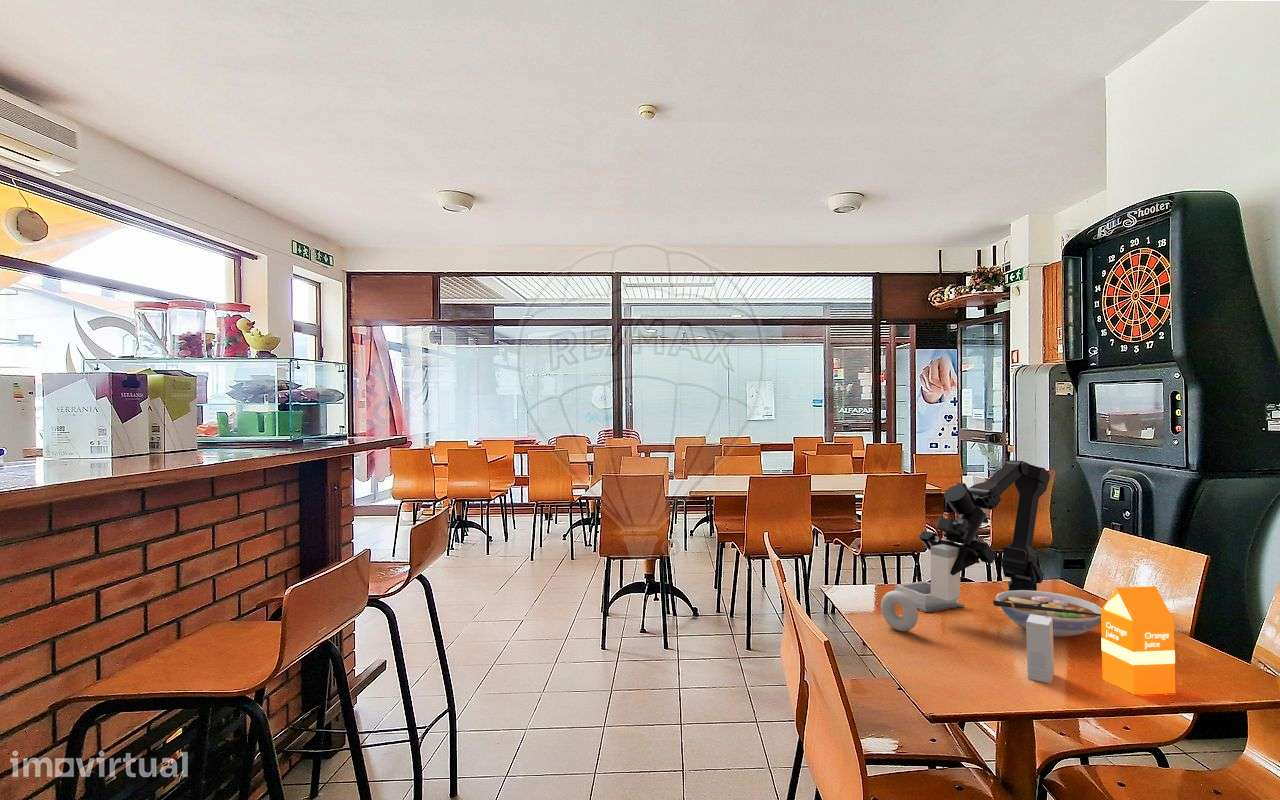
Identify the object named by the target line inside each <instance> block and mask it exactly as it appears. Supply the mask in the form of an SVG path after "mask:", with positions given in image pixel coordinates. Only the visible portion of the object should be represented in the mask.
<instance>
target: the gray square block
mask: <svg viewBox="0 0 1280 800" xmlns="http://www.w3.org/2000/svg"><path fill="white" fill-rule="evenodd" d="M958 556H959V548H957V547H953V546H949V545H945V544H941V545H935V546H931V550H930V583H931V595H932V596H935V597H938V598H941V599H944V600H947V601H949V600H953V599H956V600H958V599H960V598H961V571H960V572H958V573H957V574H955V575H951V573H950V572H951V569H952V567H953V565H954V563H955V561H956V559H957V557H958Z"/></svg>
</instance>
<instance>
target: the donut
mask: <svg viewBox="0 0 1280 800" xmlns="http://www.w3.org/2000/svg"><path fill="white" fill-rule="evenodd" d="M896 605H898V606H899V607H900V608H901V609H902V612H903V615H902V616H899V615H898V614H897V612H896V608H895V607H896ZM880 612H881V614H882V617H883V619H884V621H885V622H886V624H888V625H889V626H890V627H891V629H894V630H896V631H898V632H908V631H911V630H912V629H914V628H915V626H916V625H917V622H918V620H919V613H918V612H919V611H918V610H917V608H916V605H915V603H914V602H913V600H912V599H911V598H910V597H909V596H908V595H907V594H905V593H903V592H901V591H895V590H891V591H887V592H886V594H884V595H883V597H882V599H881V600H880Z"/></svg>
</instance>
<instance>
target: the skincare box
mask: <svg viewBox="0 0 1280 800" xmlns="http://www.w3.org/2000/svg"><path fill="white" fill-rule="evenodd" d="M1025 629H1026V632H1025V634H1026V662H1027V663H1026V664H1027V665H1026V666H1027V667H1026V669H1027V679H1029V680H1033V681H1035V682H1036V681H1037V682H1041V683H1046V684H1052V681H1053V677H1054V675H1055V659H1054V657H1055V656H1054V655H1055V654H1054V638H1053V619H1052V618H1050V617H1045V616H1039V615H1033V614H1030V615H1029V617H1028V619H1027V621H1026V628H1025Z"/></svg>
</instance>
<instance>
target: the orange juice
mask: <svg viewBox="0 0 1280 800" xmlns="http://www.w3.org/2000/svg"><path fill="white" fill-rule="evenodd" d="M1101 608H1102V609H1101V621H1100V622H1101V623H1100V625H1101V627H1100V628H1101V630H1100V632H1101V639H1100V641H1101V642H1100V643H1101V646H1100V647H1101V668H1102V669H1101V673H1102V674H1101V675H1102V676H1101V677H1102V678H1101V679H1102V680H1103V681H1105V682H1108V683H1109V684H1111V685H1113V686H1114V685H1116V686H1118V687H1120V688H1122V689H1124V690H1126V691H1128V692H1130V693H1132V694H1164V693H1165V694H1164V695H1168V694H1167V693H1175V694H1176V650H1175V620H1174V618H1173V616H1172V614H1171V612H1170V610H1169V609H1168V607H1167V605H1166V603H1165V601H1164V599H1163V598H1162V595H1161V594H1160V592H1159V590H1158V589H1157V586H1155V585H1152V586H1150V585H1149V586H1127V587H1115V589H1114V591H1113V592H1112V594H1111V595H1110V597H1108V599H1107V600H1106V602H1105V604H1104V605H1103V607H1101ZM1116 686H1115V687H1116ZM1118 687H1117V688H1118ZM1120 688H1119V689H1120ZM1122 689H1121V690H1122ZM1124 690H1123V691H1124ZM1126 691H1125V692H1126ZM1128 692H1127V693H1128Z"/></svg>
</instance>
